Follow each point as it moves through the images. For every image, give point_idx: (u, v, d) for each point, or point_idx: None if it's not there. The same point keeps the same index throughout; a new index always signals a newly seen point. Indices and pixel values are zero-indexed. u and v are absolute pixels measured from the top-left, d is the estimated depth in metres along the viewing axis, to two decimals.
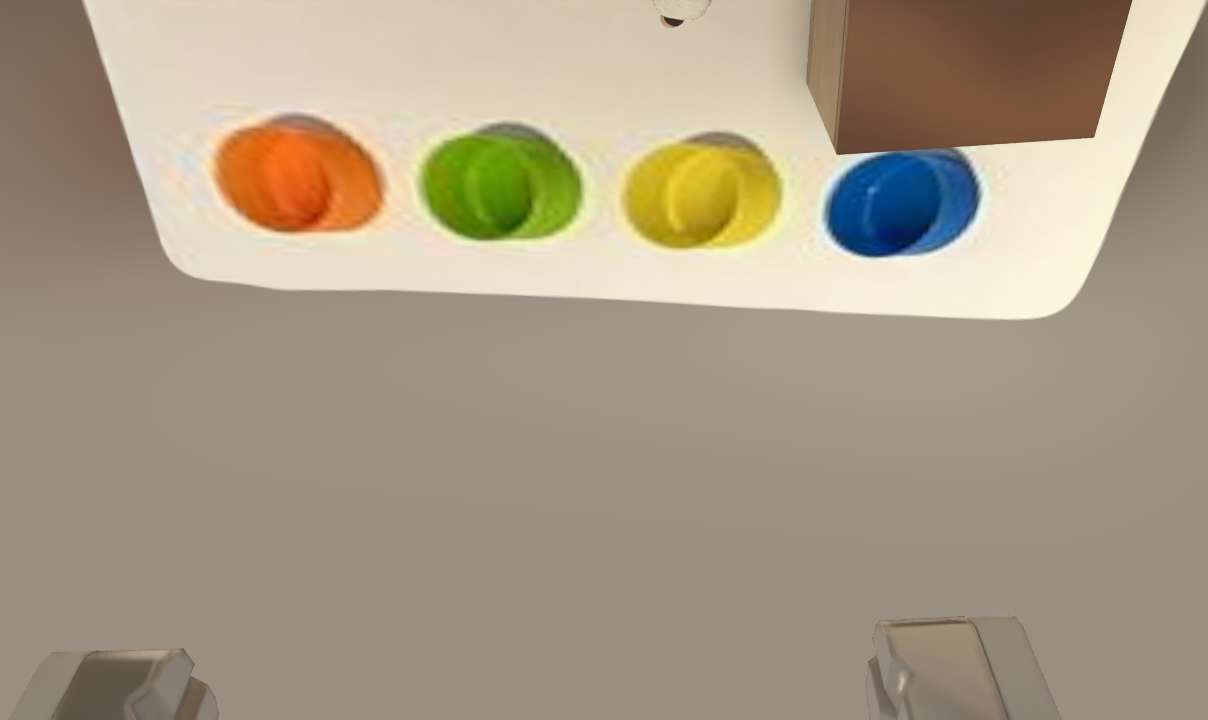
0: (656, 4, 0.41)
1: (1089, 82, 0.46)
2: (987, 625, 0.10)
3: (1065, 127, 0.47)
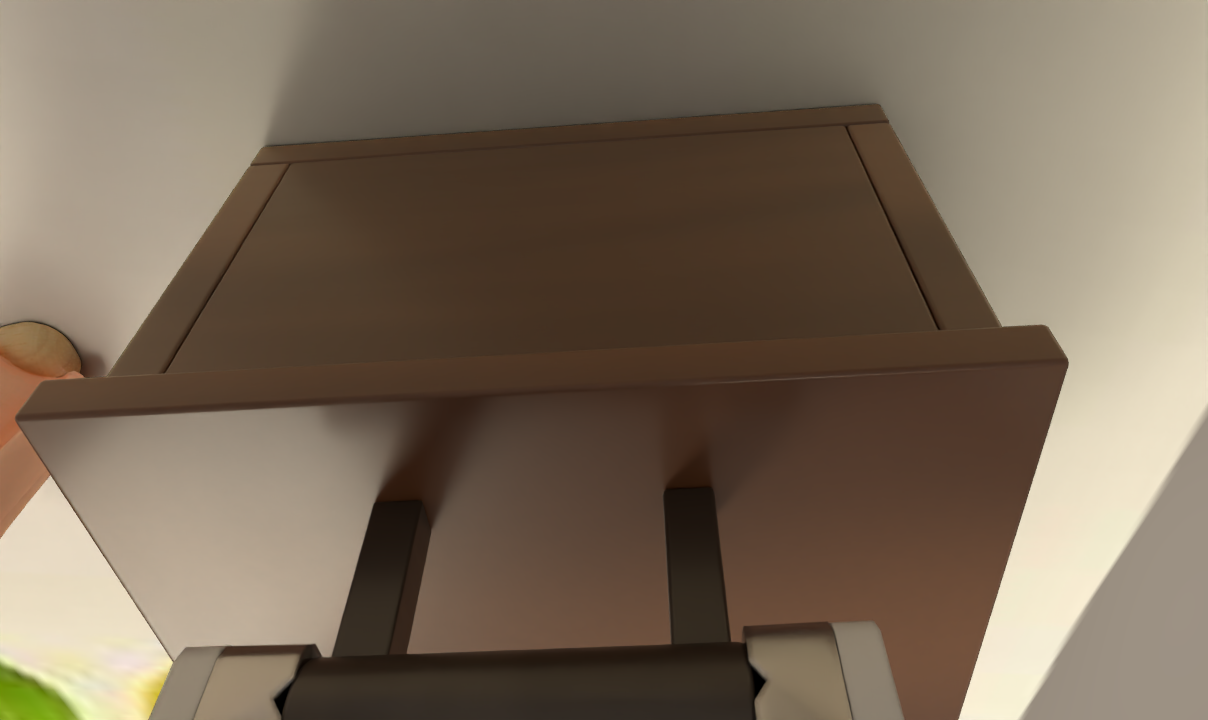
0: None
1: None
2: (846, 630, 0.10)
3: None
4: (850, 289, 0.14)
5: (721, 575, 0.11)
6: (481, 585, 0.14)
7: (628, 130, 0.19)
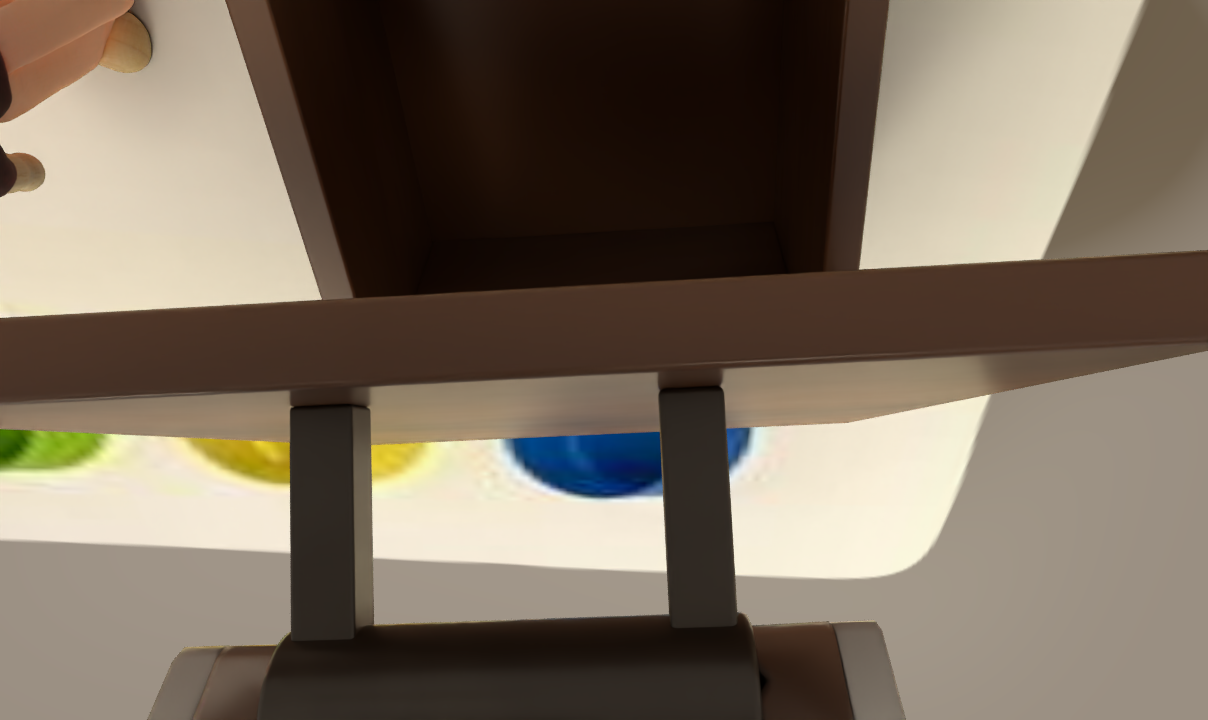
0: None
1: (833, 419, 0.21)
2: (847, 630, 0.10)
3: (791, 423, 0.23)
4: None
5: (729, 527, 0.09)
6: (441, 411, 0.12)
7: None
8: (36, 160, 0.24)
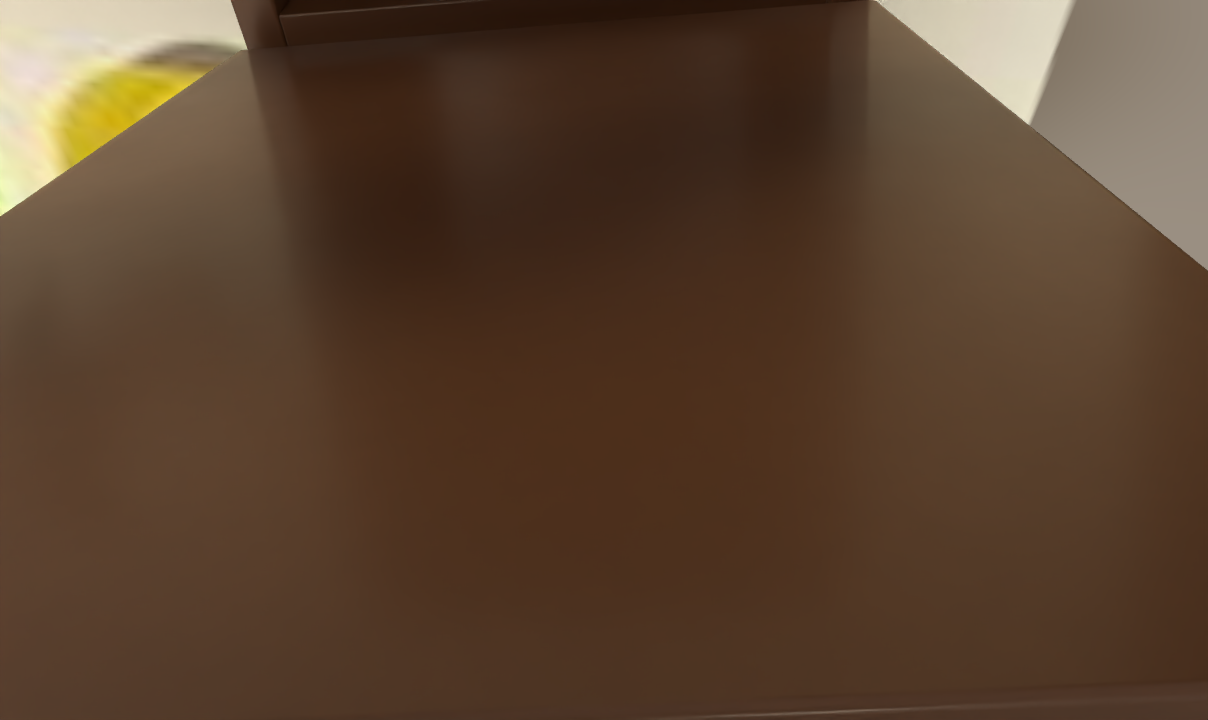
0: None
1: None
2: None
3: None
4: None
5: None
6: None
7: None
8: None
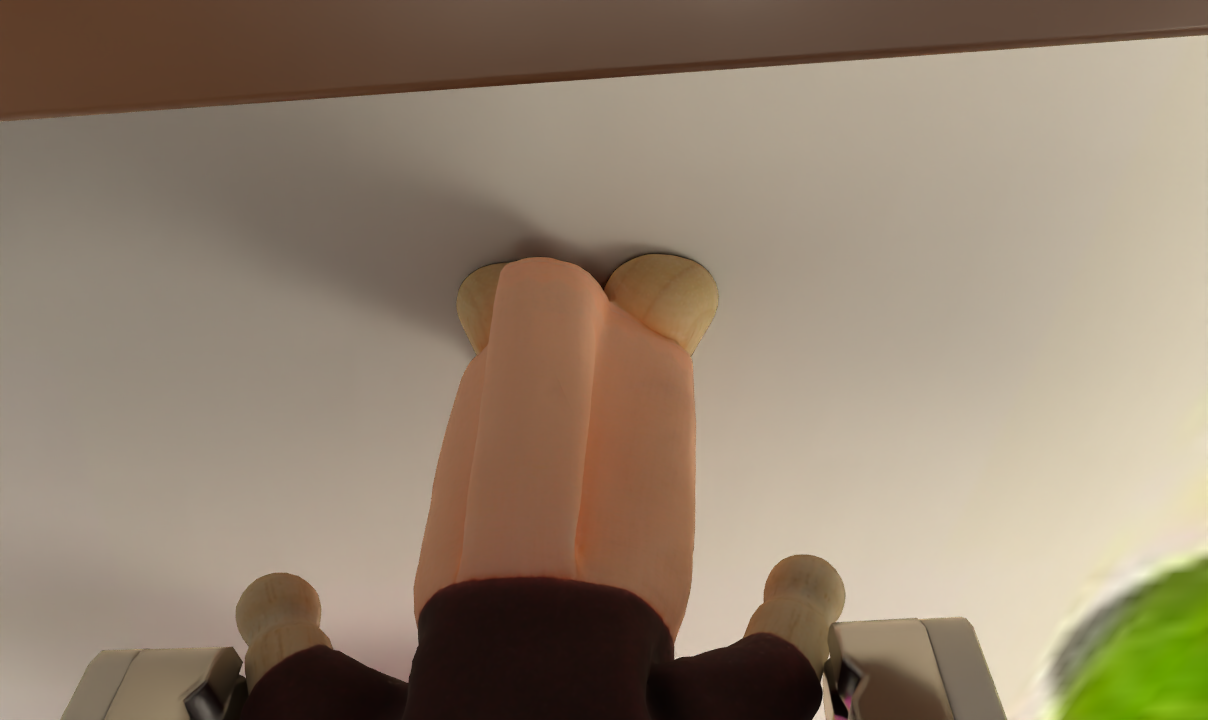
0: None
1: None
2: (938, 627, 0.10)
3: None
4: None
5: None
6: None
7: None
8: (785, 564, 0.12)
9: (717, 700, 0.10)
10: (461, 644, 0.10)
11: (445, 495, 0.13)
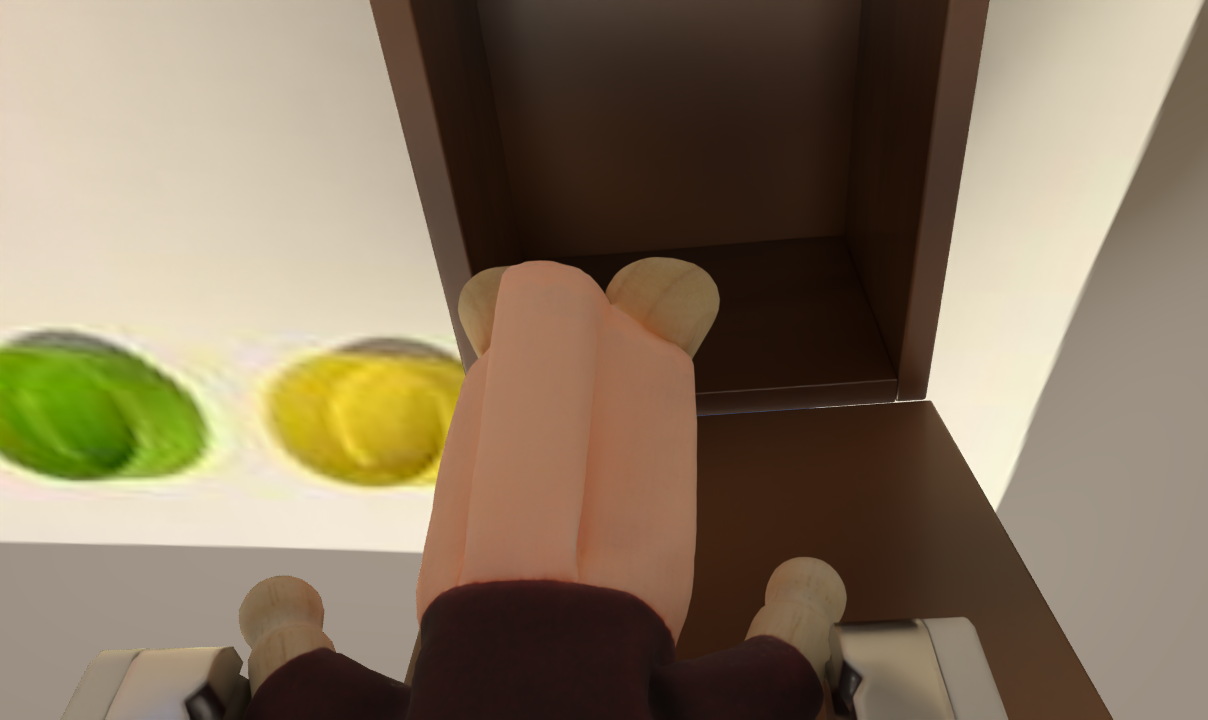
0: None
1: None
2: (939, 627, 0.10)
3: None
4: None
5: None
6: None
7: None
8: (787, 567, 0.12)
9: (719, 702, 0.10)
10: (463, 647, 0.10)
11: (447, 498, 0.13)
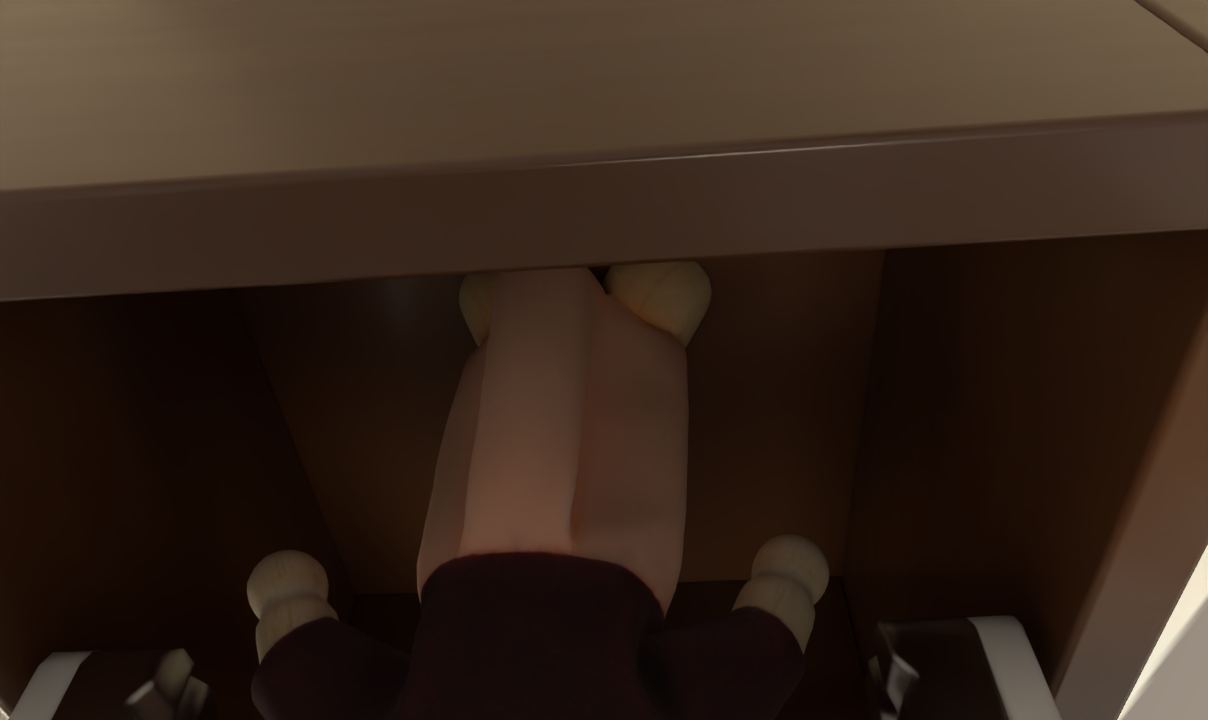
0: None
1: None
2: (987, 625, 0.10)
3: None
4: (1002, 6, 0.07)
5: None
6: None
7: None
8: (772, 543, 0.12)
9: (704, 667, 0.10)
10: (462, 613, 0.11)
11: (447, 478, 0.13)
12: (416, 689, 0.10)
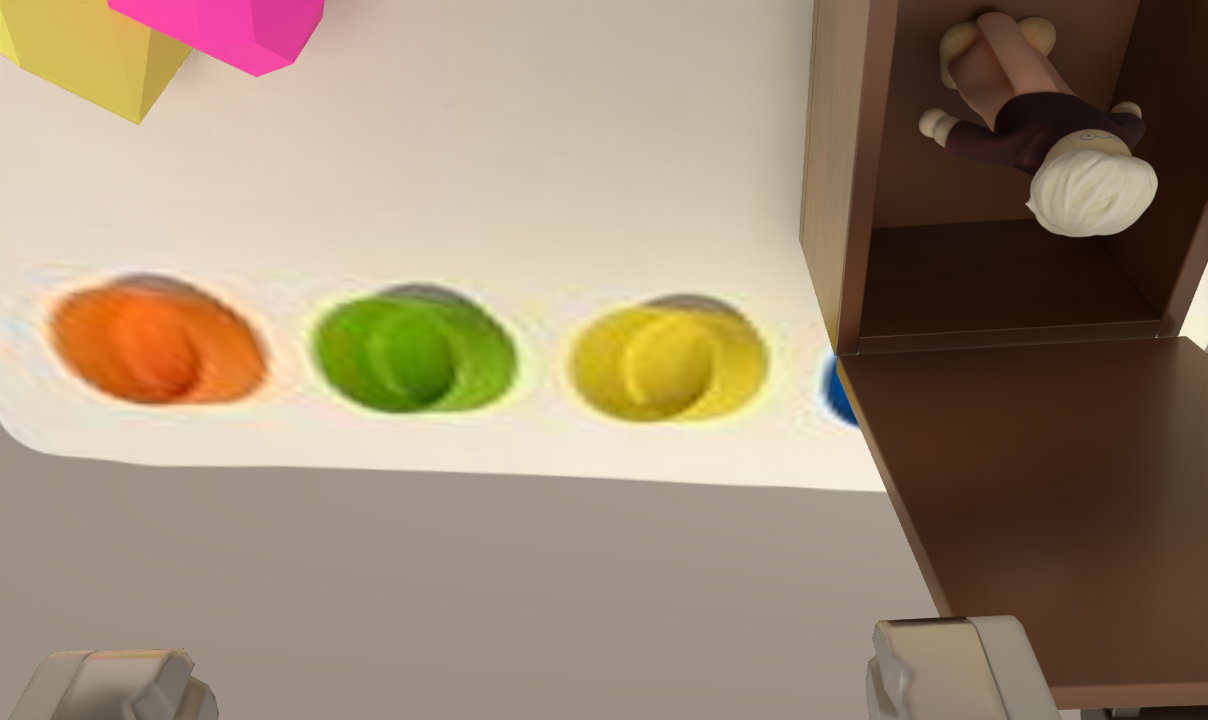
0: (1114, 232, 0.28)
1: None
2: (987, 625, 0.10)
3: None
4: None
5: None
6: None
7: None
8: (1119, 104, 0.32)
9: (1118, 117, 0.30)
10: (1031, 104, 0.31)
11: (980, 91, 0.33)
12: (1029, 118, 0.30)
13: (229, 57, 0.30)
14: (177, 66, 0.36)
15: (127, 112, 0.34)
